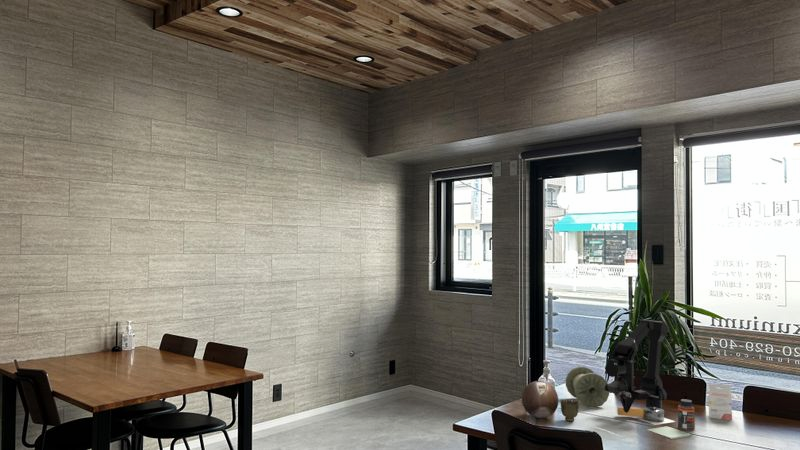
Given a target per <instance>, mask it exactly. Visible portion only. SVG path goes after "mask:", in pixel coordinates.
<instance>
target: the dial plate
mask: <svg viewBox="0 0 800 450" xmlns="http://www.w3.org/2000/svg"><path fill="white" fill-rule="evenodd" d="M631 418H633V419H635V420H639V421H642V422H644V423H647V424H651V425H654V426H658V425H663V424H670V423H675V422H677V421H675V420H673V419H669V418H667V417H664V421H663V422H651V421H647V420H644V419H643V417H639V416H631Z"/></svg>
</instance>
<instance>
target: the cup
mask: <svg viewBox="0 0 800 450" xmlns="http://www.w3.org/2000/svg"><path fill="white" fill-rule="evenodd" d="M559 403H560V410H561V414H562V415H563V417H564V419H565V421H566V422H569V423H573V422H574V421H575V418H576V417H577V416H578V414H579V408H580V403H579V401H578V400H574V399H573V400H571V399H561V400H560V401H559Z"/></svg>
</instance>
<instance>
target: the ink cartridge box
mask: <svg viewBox="0 0 800 450" xmlns="http://www.w3.org/2000/svg"><path fill="white" fill-rule="evenodd" d="M719 387H720V388H719ZM731 387H732V386H731V385H730V384H723V383H711V382H710V383H708V390H707V391H708V393H707V394H708V417H709V418H710V419H711V418H713V419H719V420H727V421H731V420H732V421H733V408H732V406H733V405H732V391H731Z"/></svg>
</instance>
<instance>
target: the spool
mask: <svg viewBox="0 0 800 450" xmlns="http://www.w3.org/2000/svg"><path fill="white" fill-rule="evenodd" d="M606 384H609V383H608V381H607V380H606V379H605V378H604V377H603V376H601V375H600V374H598V373H595V372H594V371H593V370H592V369H591V368H588V367H586V366H577V367H573V368H571V370H570V371H569V372H568V373H567V375H566V378H565V388H566V390H567V392H568V393H569V394H570V395H571V396H572V397H574V398H575V399H577V401H578V403H579V404H581V405H582V406H584V407H587V408H589V407H590V408H592V409H593V408H594V409H595V408H599V407H601V406H603V405H604V404H605V403H607V400H608V399H609V396H610V392H608V391H605V385H606Z"/></svg>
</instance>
